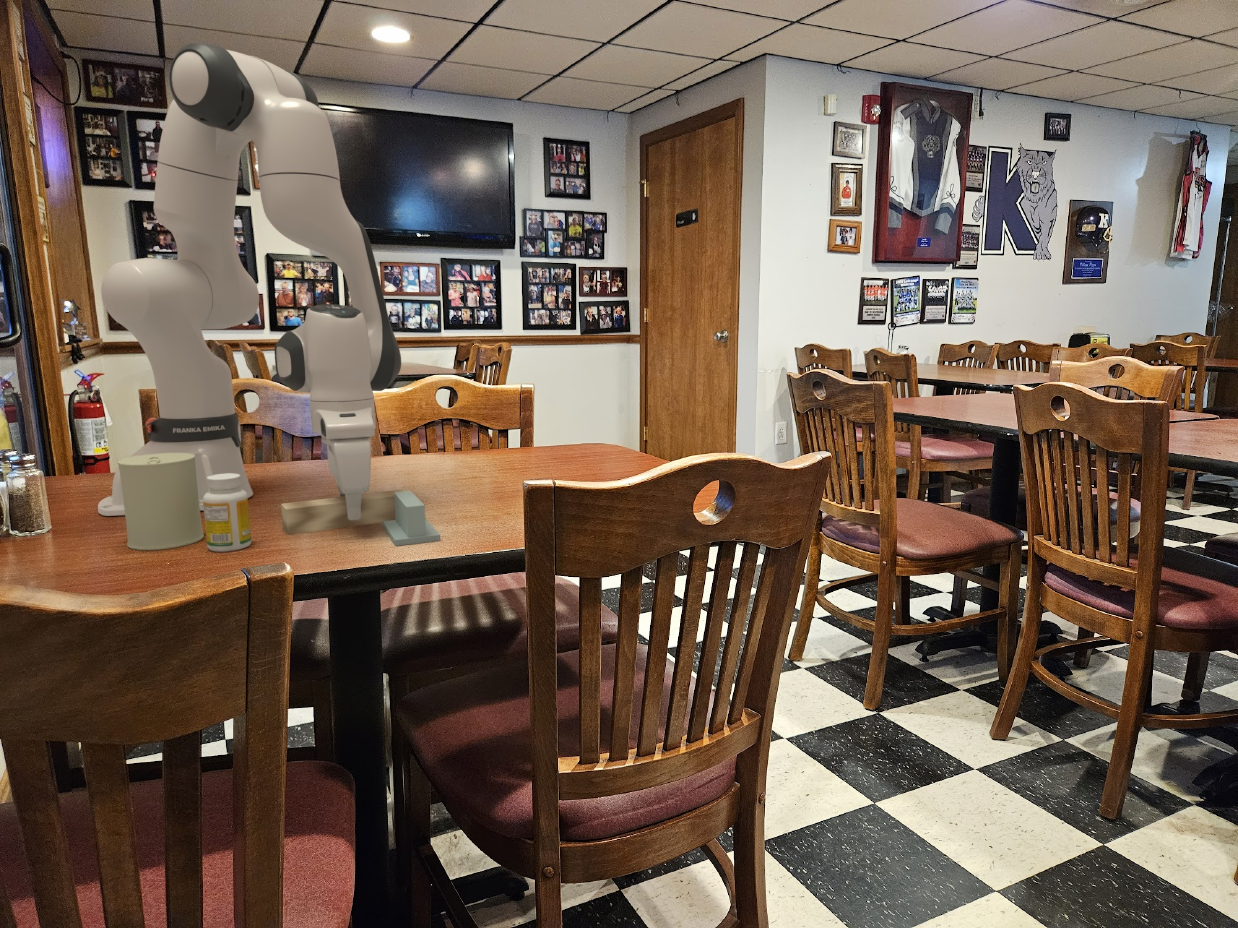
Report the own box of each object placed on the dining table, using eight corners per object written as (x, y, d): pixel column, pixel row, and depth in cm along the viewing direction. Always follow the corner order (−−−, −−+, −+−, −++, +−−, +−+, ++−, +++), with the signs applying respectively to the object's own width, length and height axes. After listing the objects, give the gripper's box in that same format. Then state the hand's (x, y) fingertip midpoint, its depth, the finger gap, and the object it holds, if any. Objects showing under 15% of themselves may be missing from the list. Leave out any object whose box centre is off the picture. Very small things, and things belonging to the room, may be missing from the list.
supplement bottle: (215, 555, 104) (207, 482, 102) (202, 546, 108) (194, 476, 106) (258, 546, 108) (251, 476, 106) (244, 538, 111) (237, 470, 110)
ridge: (395, 545, 107) (393, 509, 106) (382, 526, 117) (380, 493, 116) (440, 540, 110) (438, 504, 109) (424, 522, 120) (422, 489, 119)
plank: (288, 537, 113) (286, 509, 113) (283, 530, 117) (281, 503, 116) (414, 519, 123) (412, 493, 122) (406, 514, 126) (404, 489, 125)
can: (122, 554, 105) (111, 463, 102) (132, 536, 113) (122, 452, 111) (201, 545, 108) (192, 457, 106) (206, 529, 117) (197, 447, 114)
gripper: (314, 412, 125) (321, 499, 127) (327, 428, 106) (334, 530, 109) (357, 410, 127) (362, 495, 130) (376, 425, 109) (382, 524, 112)
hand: (350, 511), depth 119 cm, fingers open, 8 cm apart
